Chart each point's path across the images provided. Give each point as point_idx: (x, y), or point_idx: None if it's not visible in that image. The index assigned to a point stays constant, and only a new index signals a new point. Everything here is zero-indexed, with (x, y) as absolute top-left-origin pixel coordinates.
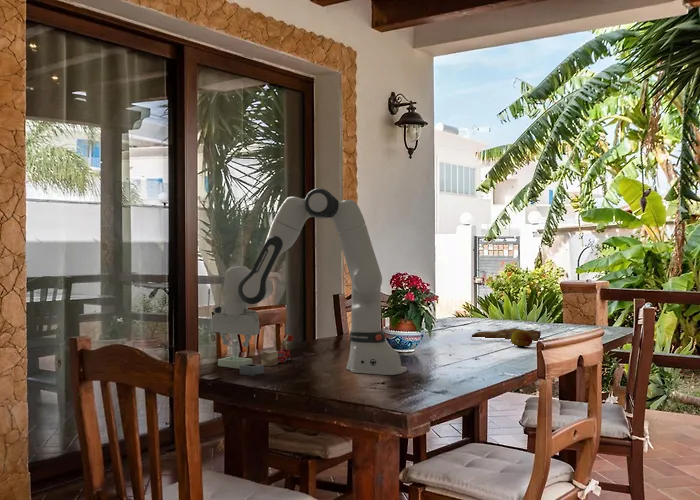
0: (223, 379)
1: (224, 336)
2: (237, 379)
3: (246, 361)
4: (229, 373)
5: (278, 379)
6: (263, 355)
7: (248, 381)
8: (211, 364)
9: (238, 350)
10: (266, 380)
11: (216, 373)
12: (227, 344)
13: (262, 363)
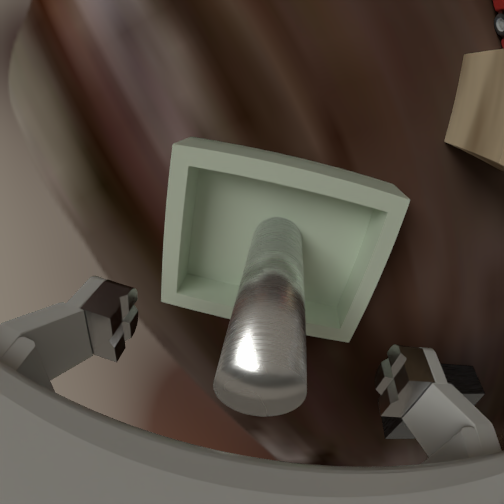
0: (343, 460)
1: (44, 346)
2: (386, 450)
3: (379, 268)
4: (333, 408)
5: (501, 409)
6: (497, 164)
7: (420, 452)
8: (109, 234)
9: (304, 301)
10: None
11: (279, 417)
12: (136, 299)
13: (457, 147)
